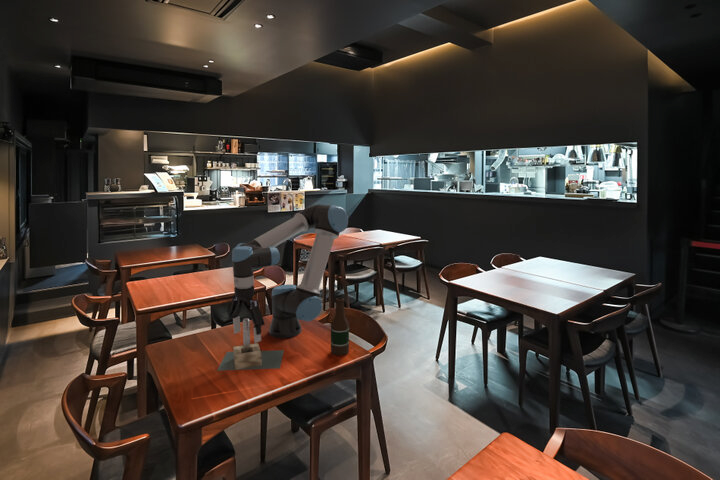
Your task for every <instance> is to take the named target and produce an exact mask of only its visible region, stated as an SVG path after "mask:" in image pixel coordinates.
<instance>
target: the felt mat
mask: <svg viewBox="0 0 720 480" xmlns="http://www.w3.org/2000/svg"><path fill="white" fill-rule="evenodd" d="M260 351H261V359H262V365H260V366H254V367H248V368H242V369H236V370H235V363H234V353H233V351H226V353H225V355H224V357H223V358H222V360H221V362H220V364H219V366H218V368H217V370H216V371H217V372H219V371H223V372H224V371H242V370H243V371H247V370H249V371H250V370H269V369H270V370H272V369H273V370H274V369H275V370H277V369H281V367H282V366H281V364H282V360H283V357H284V352H285V350H284V349H281V350H278V349H277V350H275V349H274V350H260Z"/></svg>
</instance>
